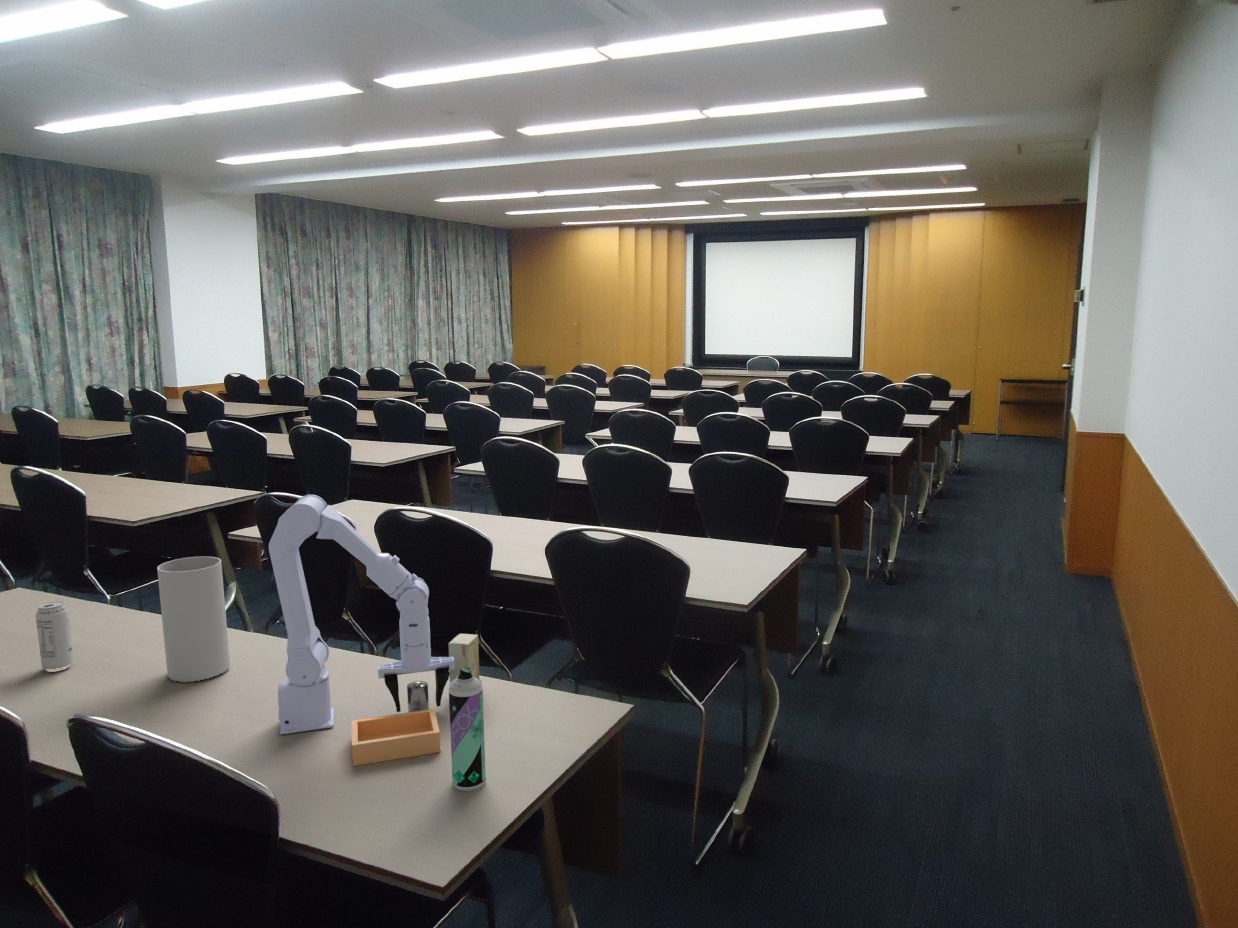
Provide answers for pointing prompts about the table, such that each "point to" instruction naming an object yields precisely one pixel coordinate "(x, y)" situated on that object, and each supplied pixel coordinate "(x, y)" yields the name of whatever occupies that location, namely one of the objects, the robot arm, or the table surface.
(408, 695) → the cell
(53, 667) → the energy drink can
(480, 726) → the spray can
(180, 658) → the cylinder vase
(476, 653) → the skincare box
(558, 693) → the table surface
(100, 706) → the table surface
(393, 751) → the trough
